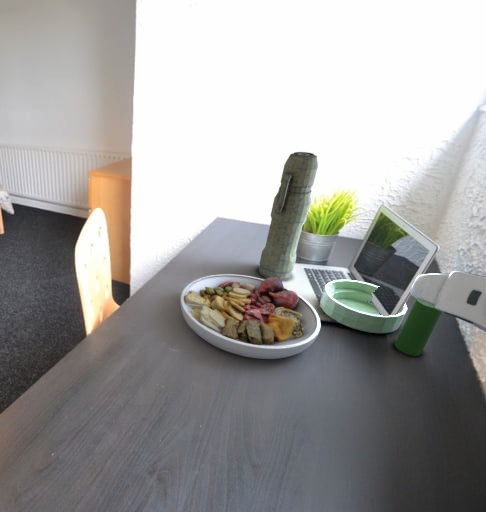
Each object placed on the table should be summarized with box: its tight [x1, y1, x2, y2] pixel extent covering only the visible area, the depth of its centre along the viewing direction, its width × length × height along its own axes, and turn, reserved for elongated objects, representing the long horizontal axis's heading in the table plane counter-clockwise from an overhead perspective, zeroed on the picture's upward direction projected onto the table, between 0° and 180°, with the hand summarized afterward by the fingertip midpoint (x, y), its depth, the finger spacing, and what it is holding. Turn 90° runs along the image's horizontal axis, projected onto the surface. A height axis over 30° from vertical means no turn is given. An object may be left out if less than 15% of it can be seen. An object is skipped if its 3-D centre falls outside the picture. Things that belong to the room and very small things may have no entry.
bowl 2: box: [319, 279, 408, 334], centre depth 89 cm, size 16×16×5 cm
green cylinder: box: [394, 297, 443, 357], centre depth 76 cm, size 4×4×12 cm
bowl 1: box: [180, 273, 321, 360], centre depth 87 cm, size 30×30×8 cm
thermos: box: [258, 151, 319, 282], centre depth 101 cm, size 9×12×35 cm
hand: (471, 305), depth 64 cm, fingers open, 8 cm apart
